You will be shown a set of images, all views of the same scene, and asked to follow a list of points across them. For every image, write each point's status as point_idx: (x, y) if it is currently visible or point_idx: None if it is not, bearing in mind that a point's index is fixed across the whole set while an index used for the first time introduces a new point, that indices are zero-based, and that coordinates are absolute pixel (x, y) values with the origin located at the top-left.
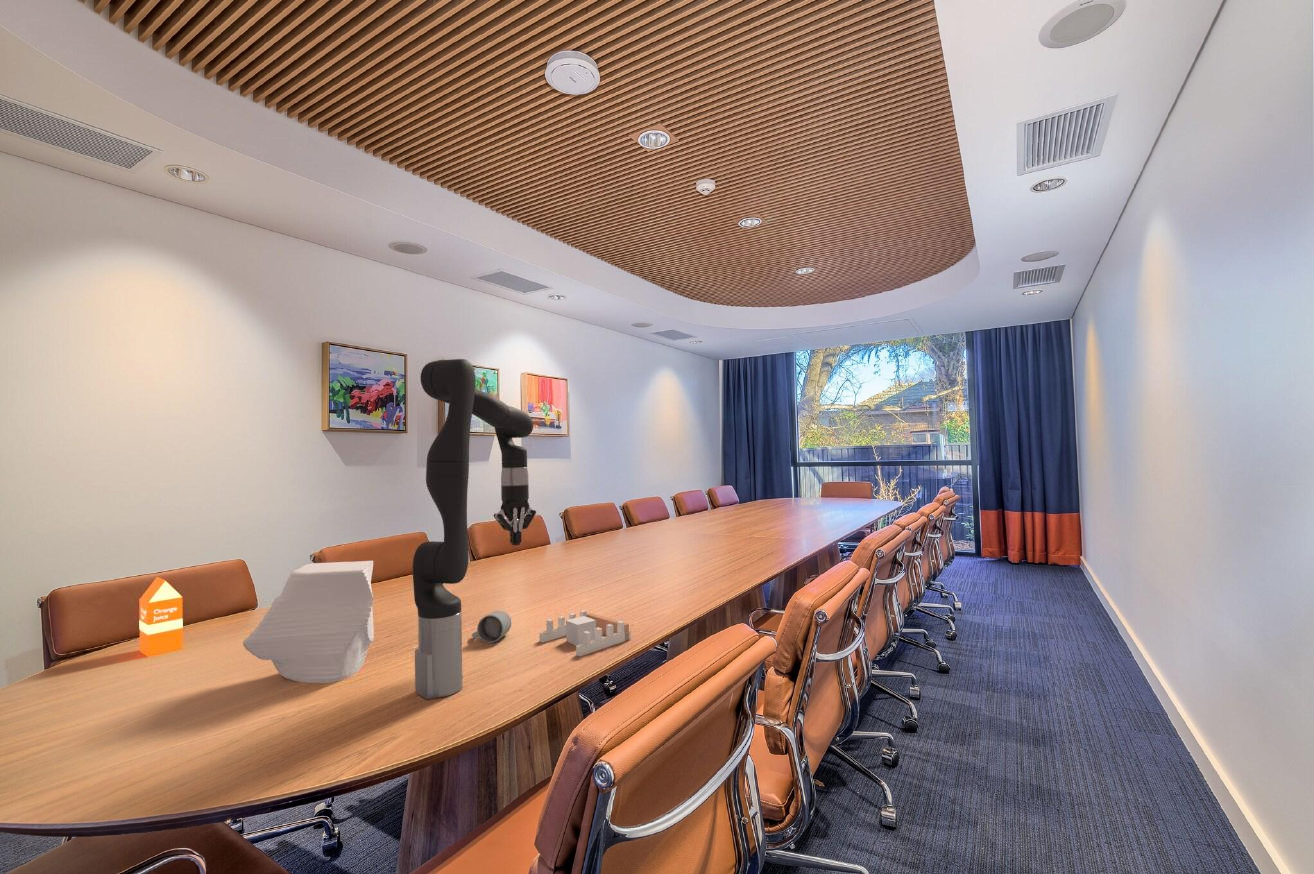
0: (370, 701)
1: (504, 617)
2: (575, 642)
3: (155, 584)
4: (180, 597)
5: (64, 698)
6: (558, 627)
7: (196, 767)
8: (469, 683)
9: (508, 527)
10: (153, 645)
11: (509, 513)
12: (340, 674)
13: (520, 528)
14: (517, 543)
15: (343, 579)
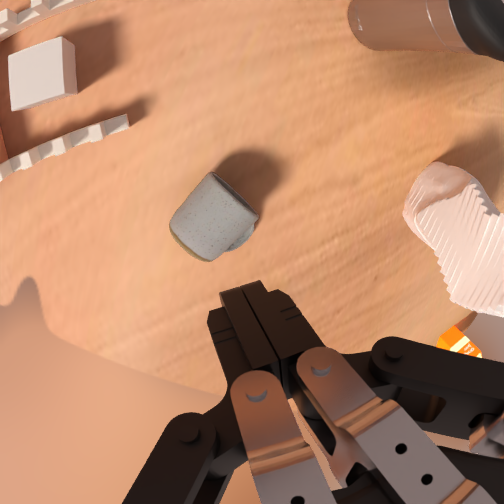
0: (431, 66)
1: (199, 209)
2: (73, 53)
3: None
4: None
5: None
6: (72, 146)
7: (501, 64)
8: (336, 8)
9: (413, 354)
10: (457, 332)
11: (486, 473)
12: (439, 162)
13: (260, 399)
14: (246, 290)
15: None
